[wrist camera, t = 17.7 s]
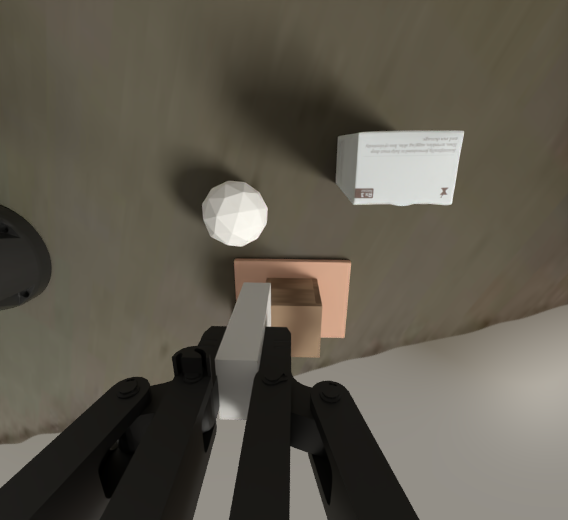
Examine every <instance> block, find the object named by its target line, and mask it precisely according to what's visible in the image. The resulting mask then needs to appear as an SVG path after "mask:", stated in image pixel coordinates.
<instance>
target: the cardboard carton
mask: <svg viewBox="0 0 568 520" xmlns="http://www.w3.org/2000/svg"><path fill="white" fill-rule="evenodd" d="M266 283H271V327H287V328H288V329H289V331H290V332H291V357H320V339H321V322H322V302H321V297H320V292H319V286H318V281H317V279H312V278H267V279H266Z"/></svg>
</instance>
